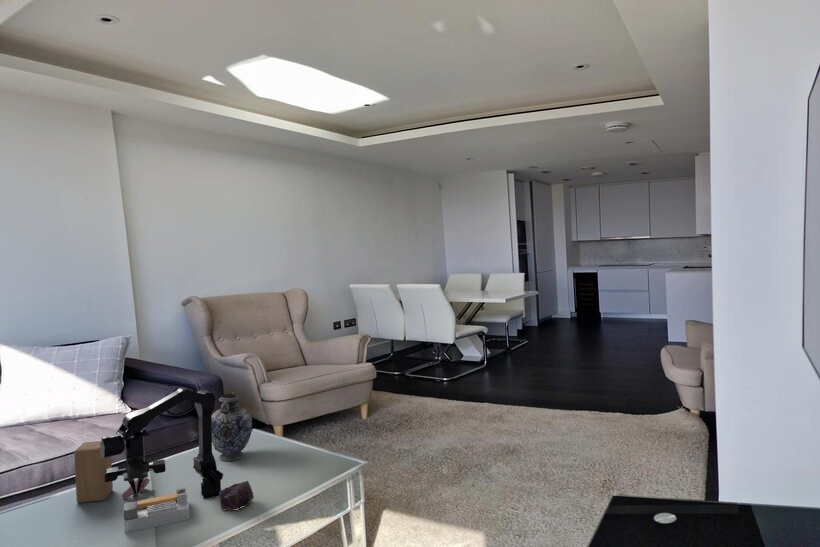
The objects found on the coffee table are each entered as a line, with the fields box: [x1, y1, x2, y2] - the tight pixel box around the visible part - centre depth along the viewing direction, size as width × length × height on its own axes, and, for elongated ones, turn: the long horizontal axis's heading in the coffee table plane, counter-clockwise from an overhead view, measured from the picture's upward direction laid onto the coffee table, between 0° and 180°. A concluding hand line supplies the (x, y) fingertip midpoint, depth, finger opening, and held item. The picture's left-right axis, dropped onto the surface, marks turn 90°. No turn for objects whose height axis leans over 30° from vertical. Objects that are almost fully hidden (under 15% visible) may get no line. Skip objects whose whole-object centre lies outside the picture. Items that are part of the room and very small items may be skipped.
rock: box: [218, 480, 255, 510], centre depth 200 cm, size 12×9×10 cm
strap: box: [136, 492, 182, 508], centre depth 195 cm, size 19×3×1 cm, turn 115°
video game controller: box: [121, 477, 150, 499], centre depth 213 cm, size 10×5×7 cm, turn 169°
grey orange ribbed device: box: [123, 487, 191, 534], centre depth 194 cm, size 20×14×7 cm
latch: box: [123, 500, 138, 521], centre depth 187 cm, size 4×6×3 cm, turn 25°
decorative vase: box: [212, 391, 253, 463], centre depth 248 cm, size 21×19×28 cm
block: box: [73, 440, 114, 504], centre depth 211 cm, size 10×10×20 cm
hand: (136, 494), depth 193 cm, fingers closed
